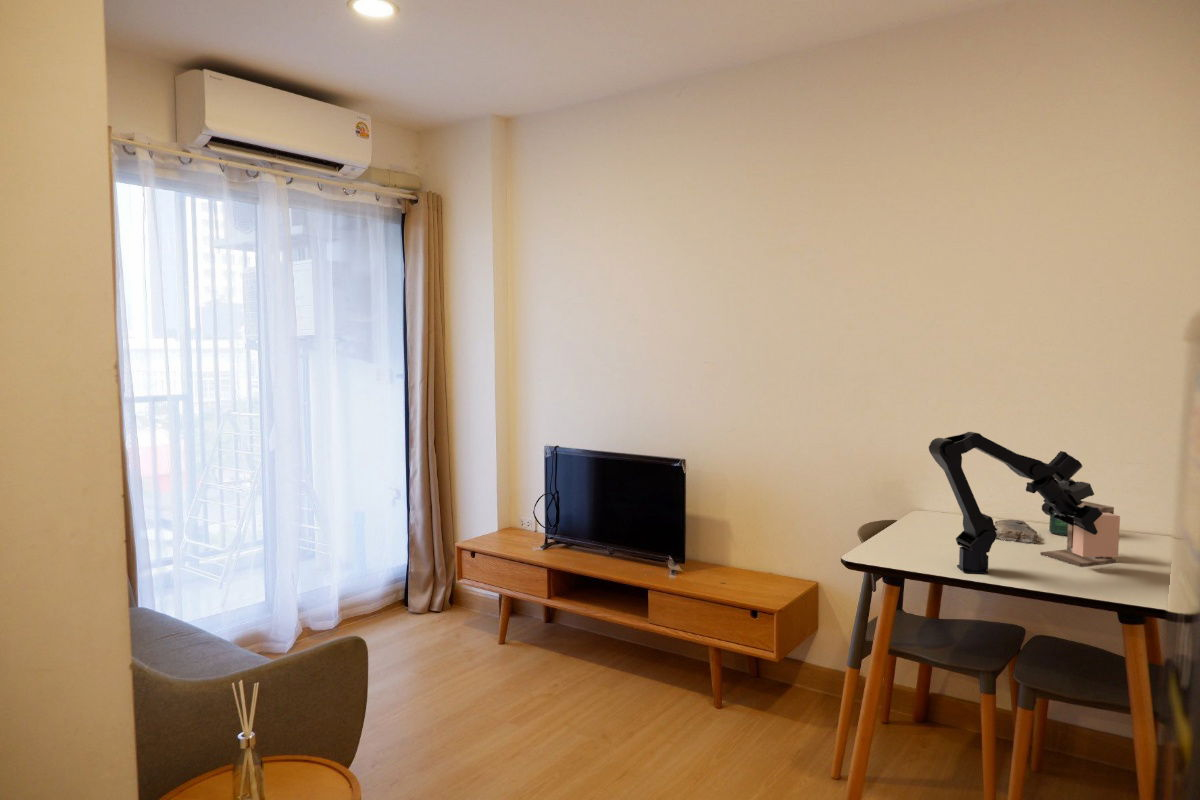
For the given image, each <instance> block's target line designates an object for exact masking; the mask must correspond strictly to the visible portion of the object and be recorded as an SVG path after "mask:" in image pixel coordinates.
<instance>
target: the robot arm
mask: <svg viewBox="0 0 1200 800" xmlns="http://www.w3.org/2000/svg"><path fill="white" fill-rule="evenodd" d="M973 449H975V450H978V451H979V452H981V453H984V454H985V455H987V456H989V457H991V458H993V459H995V460H998V461H999V462H1001V463H1003V464H1004V465H1006V466H1007V467H1008V468H1009V470H1011V471H1012V472H1014V473H1015V474H1016V475H1017V476H1019V477H1021V478H1025V479H1029V480H1031V482H1026V486H1025V492H1026V493H1027V492H1028V493H1031V494H1035V493H1038V494H1039V495H1040V496H1041V497H1042V498H1043V502H1044V503H1043V504H1042V505H1041V511H1042V512H1043V513H1044V514H1045V515H1047V516H1049V517H1050V516H1052V515H1053V513H1054V514H1055V516H1054V518H1056V519H1058V520H1061V521H1063V522H1065V523H1067V524H1069V525H1072V526H1074V525H1075V526H1077V527H1080V528H1082V529H1084V530H1086V531H1088V532H1090V533H1092V534H1094V535H1096V534H1097V533H1098V531H1097V529H1096V527H1095V525H1094V522H1095V521H1096V520H1097V519H1098V518H1099V517H1100V516H1101V515H1102V513H1103V512H1102V511H1101V510H1100V509H1099V508H1098V507H1094V506H1091V505H1085V506H1084V507H1082V508H1081V507H1078V505H1080V504H1081V503H1083V502H1082V501H1083V500H1084V499H1087V498H1089V497H1093V496H1094V495H1095V491H1094V490H1093V487H1092V485H1091V483H1088V482H1084V481H1076V480H1073V479H1072V477H1073V476H1075V475H1076V473H1078V472H1079V471H1080V470H1081V469H1082V468H1083V464H1082V463H1081V462H1080V461H1079V460H1078V459H1076V458H1075V457H1074V456H1072V455H1070V454H1068V453H1067V452H1066V451H1061V450H1060V451H1059V452H1058V453H1057V454H1056V456H1055V457H1054V458H1053V459H1052V460H1050V462H1049V463H1046V462H1043V461H1042V460H1041V459H1036V458H1033V457H1029V456H1026V455H1022V454H1020V453H1017V452H1014V451H1012V450H1011V449H1009V448H1007V447H1005V446H1003V445H1001V444H998V443H997V442H995V441H992V440H991V439H989V438H987V437H985V436H983V435H982V434H981V433H979V432H975V431H967V432H965V433H962V434H957V435H952V436H947V437H944V438H943V437H936V438H934V439H933V440H931V442H930V443H929V446H928V451H929V453H930V455H931V456H932V458H933V460H934V461H935V462H936V463H937V465H938V466H939V467H940V468H941V469H942V470H943V472H944V474H945V476H946V478H947V481H948V483H949V485H950V488H951V490H952V492H953V495H954V497H955V500H956V502H957V504H958V507H959V510H960V511H961V513H962V527H963V530H962V532H961V533H960V534H959V535H957V536H956V537H955V540H956V544H957V546H959V551H958V552H959V555H958V556H959V559H958V564H957V565H956V567H957V569H959V570H961V571H962V572H963V573H965V574H989V572H990V571H988V570H989V555H988V553H990V551H991V549H992V546H993V544H994V543H995V541H996V539H998V538H997V534H996V531H997V529H996V528H995V526H994V525H995V522H994V519H993V517H992V516H989V515H987V514H985V513H982V512H981V510H980V508H979V504H978V502H977V500H976V498H975V496H974V493H973V491H972V489H971V486H970V484H969V482H968V479H967V477H966V474H965V472H964V469H963V467H962V465H963V464H962V463H963V456H962V455H964V454H966V453H968V452H970V451H972V450H973ZM1069 479H1072V480H1069ZM1057 480H1058V481H1063V480H1064V481H1065V489H1064V488H1063V487H1062V486H1061V485H1060V484H1059V483H1058V481H1057ZM1076 482H1077V483H1076ZM1074 522H1075V523H1074Z"/></svg>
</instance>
